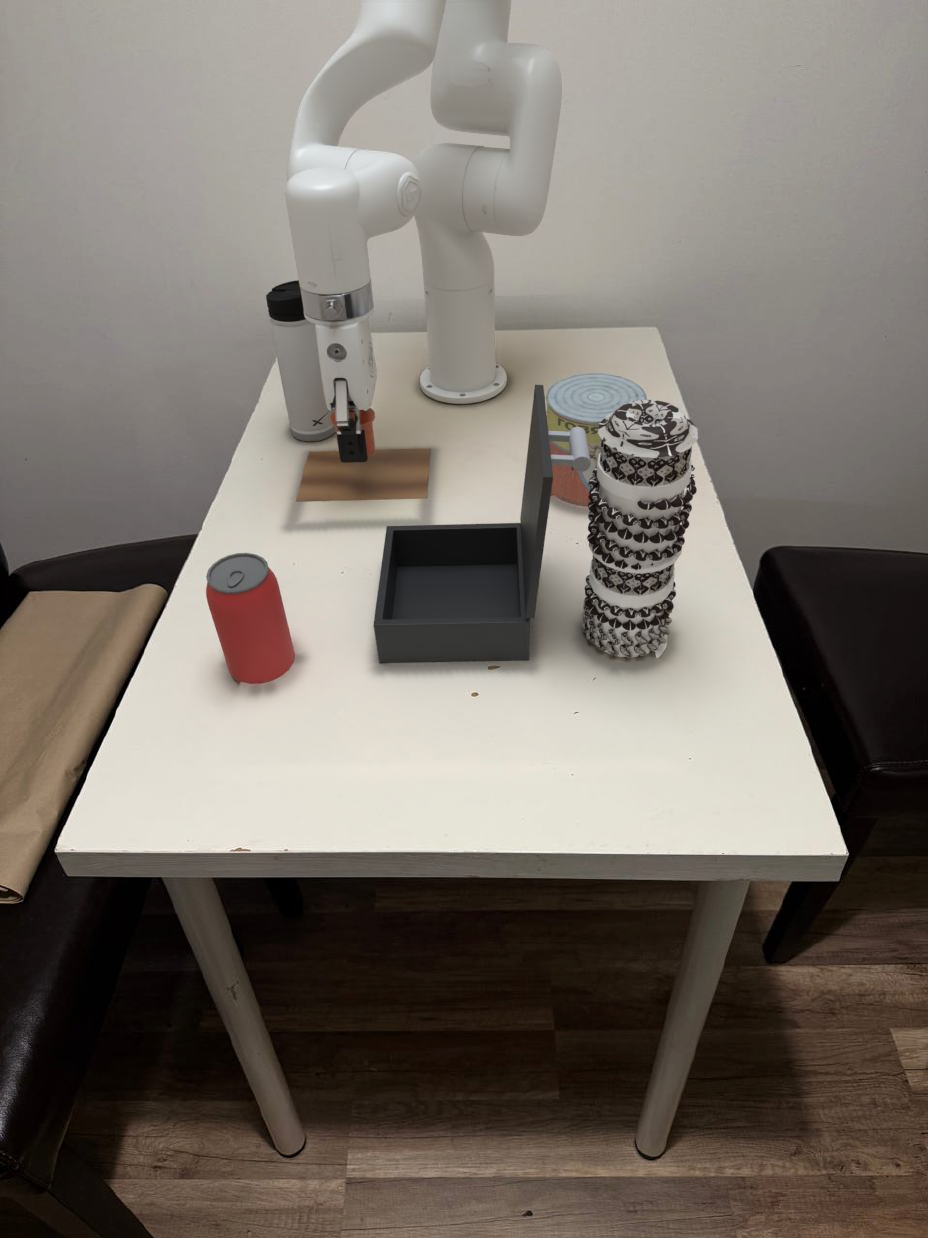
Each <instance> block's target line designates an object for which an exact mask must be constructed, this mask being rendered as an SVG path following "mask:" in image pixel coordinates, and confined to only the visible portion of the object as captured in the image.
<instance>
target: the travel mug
mask: <svg viewBox="0 0 928 1238" xmlns="http://www.w3.org/2000/svg"><path fill="white" fill-rule="evenodd" d="M265 300H266V306H267V311H268V319H269V324H270V330H271V334H272V339H273V344H274V350H275V355H276V360H277V361H276V362H277V365H278V366H277V367H278V371H279V376H280V381H281V387H282V391H283V398H284V401H285V407H286V412H287V417H288V422H289V428H290V432H291V435H292V436H293V437H294V438H295V439H297V440H300V441H303V442H319V441H323V440H325V439H328V438H329V437H331V436H333V435H334V434H336V430H335V426H334V425H333V424H332V423H331V420H330V416H331V414H332V413H333V412H334V411H335V410H333V412H332V411H330V410H329V409H328V408H327V406H326V402H325V397H324V391H323V385H322V378H321V371H320V363H319V355H318V347H317V338H316V328H315V324H314V323H311V322H309V321H308V320H307V319H306V318H305V317H304V311H303V305H302V298H301V292H300V284H299V279H297V280H291V281H286V282H282V283H280V284H277V285H276V286H274V287H273V288H271V290H270V291H269V292H267V294H266V295H265Z"/></svg>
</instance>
